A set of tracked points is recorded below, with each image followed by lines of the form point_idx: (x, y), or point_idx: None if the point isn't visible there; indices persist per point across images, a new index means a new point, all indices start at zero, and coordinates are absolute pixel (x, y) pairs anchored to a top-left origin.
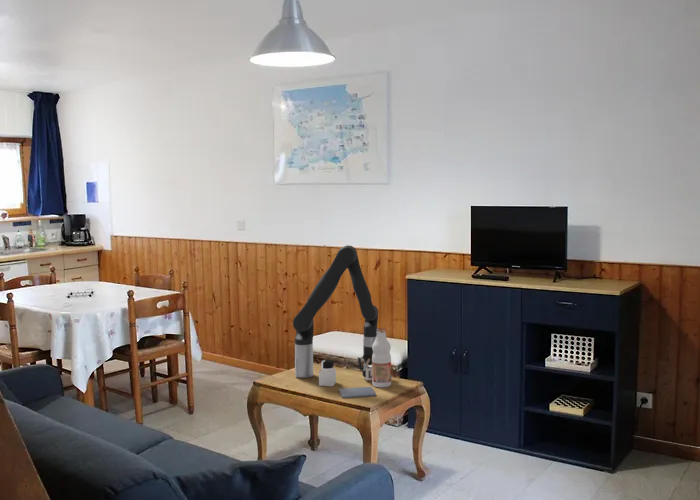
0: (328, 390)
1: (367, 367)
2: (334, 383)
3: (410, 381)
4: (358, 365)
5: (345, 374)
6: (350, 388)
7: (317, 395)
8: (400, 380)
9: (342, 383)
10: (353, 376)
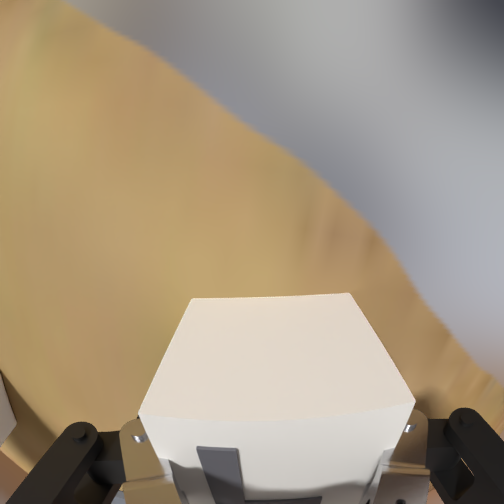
0: (27, 452)
1: (209, 492)
2: (7, 406)
3: (500, 414)
4: (51, 458)
5: (8, 158)
6: (115, 499)
7: (21, 467)
8: (475, 406)
9: (38, 403)
10: (68, 246)
